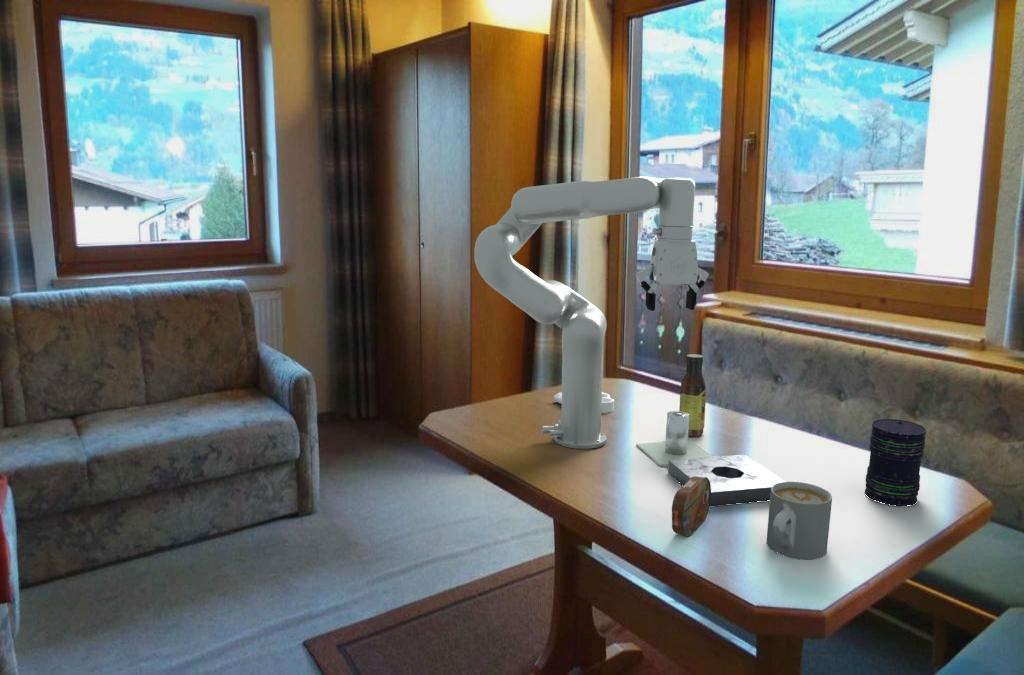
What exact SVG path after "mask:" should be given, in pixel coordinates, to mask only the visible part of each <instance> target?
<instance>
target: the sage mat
mask: <svg viewBox="0 0 1024 675" xmlns="http://www.w3.org/2000/svg"><path fill="white" fill-rule="evenodd" d="M635 446H636V447H637V448H638V449H639V450H640V451H642V452H643V453H644V455H646V456H648V457H649V458H650V459H651V460H652V461H653V462H654V463H656V464H657V465H658V467H661V468H663V467H669V460H678V459H691V458H705V457H714V456H713V455H712V454H711V453H709V452H708V451H706V450H705V449H704V448H703V447H701V446H700V445H698V444H697V443H695V441H693V440H691V439H688V444H687V454H685V455H671V454H668V453H666V452H665V441H658V442H644V443H643V442H642V443H636V445H635Z"/></svg>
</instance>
